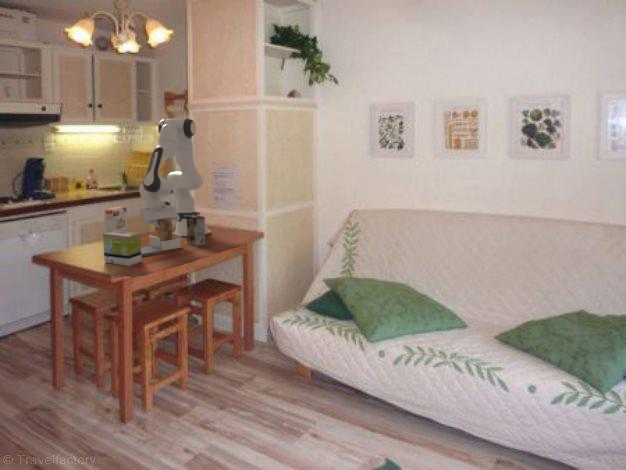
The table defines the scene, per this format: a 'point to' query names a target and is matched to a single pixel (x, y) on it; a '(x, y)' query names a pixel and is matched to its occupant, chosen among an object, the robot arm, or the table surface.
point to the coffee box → (196, 230)
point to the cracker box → (116, 219)
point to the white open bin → (165, 242)
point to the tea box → (122, 248)
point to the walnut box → (165, 229)
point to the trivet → (150, 251)
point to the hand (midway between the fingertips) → (165, 227)
